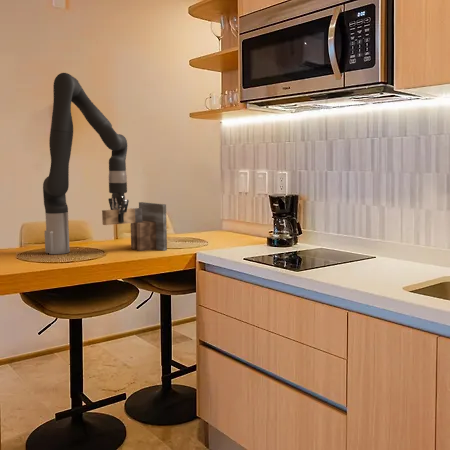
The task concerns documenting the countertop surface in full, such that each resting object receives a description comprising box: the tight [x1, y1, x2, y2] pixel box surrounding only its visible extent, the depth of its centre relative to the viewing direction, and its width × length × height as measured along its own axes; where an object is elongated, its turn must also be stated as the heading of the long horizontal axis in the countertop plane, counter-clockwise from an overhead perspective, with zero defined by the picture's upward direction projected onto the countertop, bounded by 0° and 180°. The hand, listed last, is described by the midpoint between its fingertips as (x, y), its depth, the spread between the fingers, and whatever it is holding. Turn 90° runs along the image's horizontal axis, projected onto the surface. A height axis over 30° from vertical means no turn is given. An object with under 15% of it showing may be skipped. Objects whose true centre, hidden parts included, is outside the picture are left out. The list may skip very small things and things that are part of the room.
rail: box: [101, 207, 142, 226], centre depth 231 cm, size 18×3×6 cm, turn 130°
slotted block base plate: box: [130, 201, 168, 252], centre depth 238 cm, size 10×20×20 cm, turn 40°
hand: (119, 222), depth 230 cm, fingers closed on rail, 3 cm apart
